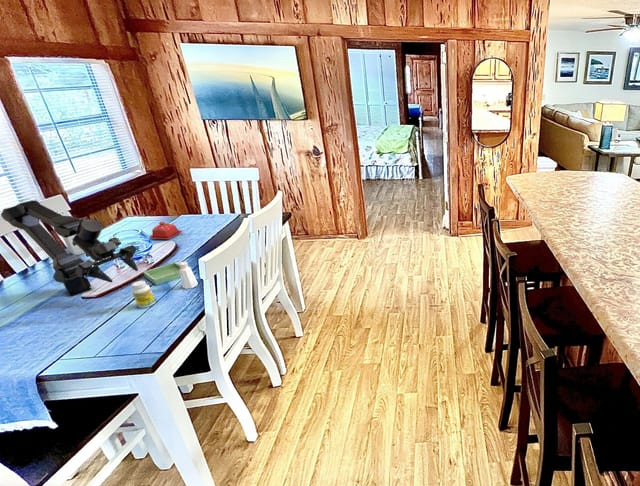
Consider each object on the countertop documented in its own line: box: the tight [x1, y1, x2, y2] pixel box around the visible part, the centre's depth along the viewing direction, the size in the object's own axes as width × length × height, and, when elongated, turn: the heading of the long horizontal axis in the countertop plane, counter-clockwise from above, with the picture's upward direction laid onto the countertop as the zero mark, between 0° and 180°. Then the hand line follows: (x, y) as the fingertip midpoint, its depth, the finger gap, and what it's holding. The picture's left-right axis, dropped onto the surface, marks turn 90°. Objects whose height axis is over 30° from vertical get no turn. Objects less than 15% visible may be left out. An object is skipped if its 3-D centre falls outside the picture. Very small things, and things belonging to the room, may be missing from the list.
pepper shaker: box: [178, 261, 199, 290], centre depth 162 cm, size 5×5×11 cm
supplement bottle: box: [131, 280, 156, 308], centre depth 150 cm, size 5×5×10 cm
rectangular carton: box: [62, 234, 86, 256], centre depth 190 cm, size 9×9×15 cm
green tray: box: [142, 261, 181, 286], centre depth 172 cm, size 12×12×3 cm
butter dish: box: [149, 221, 183, 240], centre depth 209 cm, size 12×12×8 cm
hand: (125, 275), depth 148 cm, fingers open, 9 cm apart
